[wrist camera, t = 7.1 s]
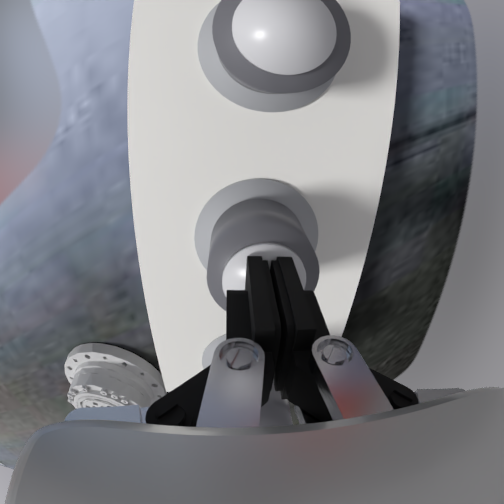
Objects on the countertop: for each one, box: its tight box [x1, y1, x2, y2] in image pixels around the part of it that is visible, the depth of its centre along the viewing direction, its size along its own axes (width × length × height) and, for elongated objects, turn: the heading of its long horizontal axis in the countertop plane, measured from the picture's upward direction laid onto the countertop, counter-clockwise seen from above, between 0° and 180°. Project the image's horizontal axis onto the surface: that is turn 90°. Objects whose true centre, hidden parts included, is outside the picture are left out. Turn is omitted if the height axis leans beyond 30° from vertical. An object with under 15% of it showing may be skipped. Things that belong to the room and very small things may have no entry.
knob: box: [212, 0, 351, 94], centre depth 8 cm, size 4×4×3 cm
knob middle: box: [207, 198, 320, 311], centre depth 13 cm, size 4×4×3 cm
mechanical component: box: [65, 343, 167, 409], centre depth 22 cm, size 10×4×10 cm
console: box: [128, 0, 400, 392], centre depth 16 cm, size 26×12×3 cm, turn 177°
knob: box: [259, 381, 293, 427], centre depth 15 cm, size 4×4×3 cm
